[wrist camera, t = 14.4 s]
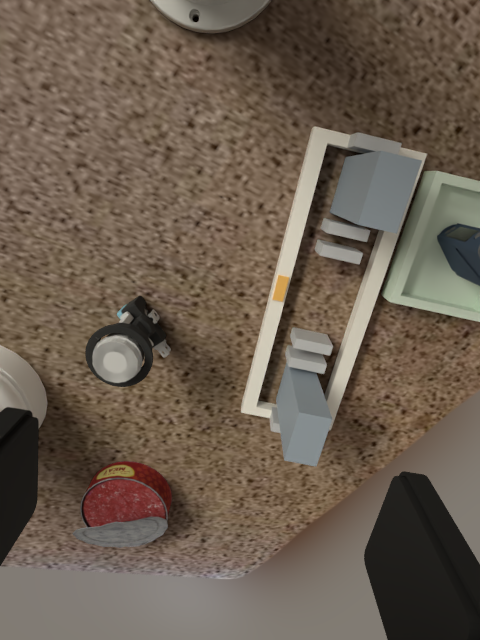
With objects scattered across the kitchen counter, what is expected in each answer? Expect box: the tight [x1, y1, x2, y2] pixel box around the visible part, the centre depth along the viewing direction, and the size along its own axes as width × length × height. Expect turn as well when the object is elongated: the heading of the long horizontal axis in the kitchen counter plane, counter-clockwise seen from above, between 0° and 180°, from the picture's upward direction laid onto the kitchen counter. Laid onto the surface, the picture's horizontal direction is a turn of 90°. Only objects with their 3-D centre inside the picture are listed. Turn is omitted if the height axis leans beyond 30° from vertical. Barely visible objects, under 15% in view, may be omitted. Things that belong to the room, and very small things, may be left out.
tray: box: [381, 171, 480, 322], centre depth 37 cm, size 12×10×2 cm
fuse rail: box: [241, 126, 427, 466], centre depth 35 cm, size 28×10×10 cm, turn 167°
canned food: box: [73, 461, 172, 548], centre depth 46 cm, size 11×10×10 cm
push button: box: [86, 296, 171, 387], centre depth 37 cm, size 7×5×10 cm
